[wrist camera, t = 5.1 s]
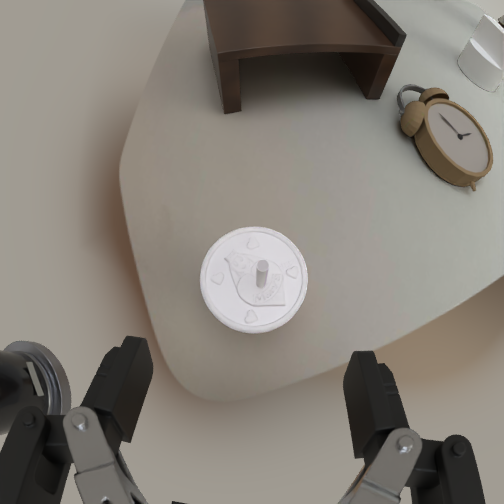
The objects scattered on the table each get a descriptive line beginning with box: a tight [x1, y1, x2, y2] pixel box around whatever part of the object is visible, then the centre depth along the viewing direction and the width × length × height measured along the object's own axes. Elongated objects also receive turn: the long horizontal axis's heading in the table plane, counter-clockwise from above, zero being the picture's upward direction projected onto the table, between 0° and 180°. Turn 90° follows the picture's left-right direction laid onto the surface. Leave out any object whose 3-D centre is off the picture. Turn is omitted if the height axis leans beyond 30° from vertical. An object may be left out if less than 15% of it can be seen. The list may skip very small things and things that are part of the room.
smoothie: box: [200, 227, 308, 334], centre depth 20 cm, size 6×6×14 cm
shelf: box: [203, 0, 407, 114], centre depth 30 cm, size 20×14×11 cm
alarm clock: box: [397, 84, 493, 191], centre depth 31 cm, size 11×5×15 cm
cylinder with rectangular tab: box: [457, 15, 504, 92], centre depth 32 cm, size 9×9×12 cm
